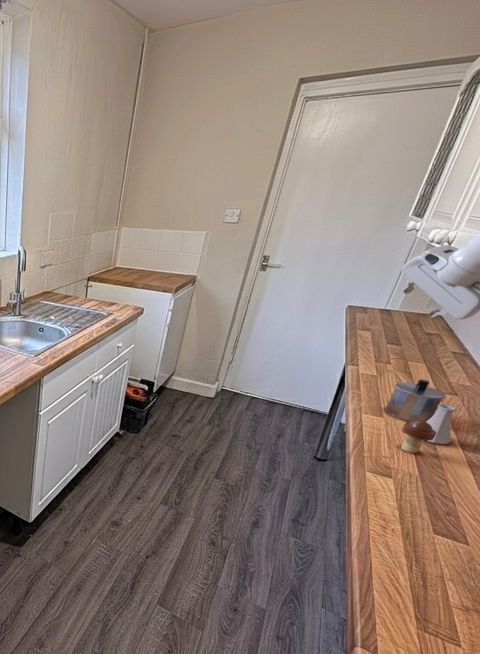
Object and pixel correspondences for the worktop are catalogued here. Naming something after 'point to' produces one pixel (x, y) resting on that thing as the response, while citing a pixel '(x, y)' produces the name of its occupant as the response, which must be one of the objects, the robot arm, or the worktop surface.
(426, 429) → the mushroom
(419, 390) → the pot lid
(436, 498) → the worktop surface
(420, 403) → the pot
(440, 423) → the flask
